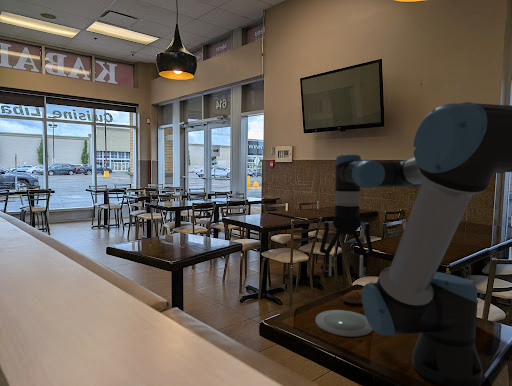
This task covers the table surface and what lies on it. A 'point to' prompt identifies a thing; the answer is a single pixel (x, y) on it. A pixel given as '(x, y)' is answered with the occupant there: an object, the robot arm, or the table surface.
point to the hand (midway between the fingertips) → (345, 275)
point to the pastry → (353, 297)
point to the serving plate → (343, 323)
